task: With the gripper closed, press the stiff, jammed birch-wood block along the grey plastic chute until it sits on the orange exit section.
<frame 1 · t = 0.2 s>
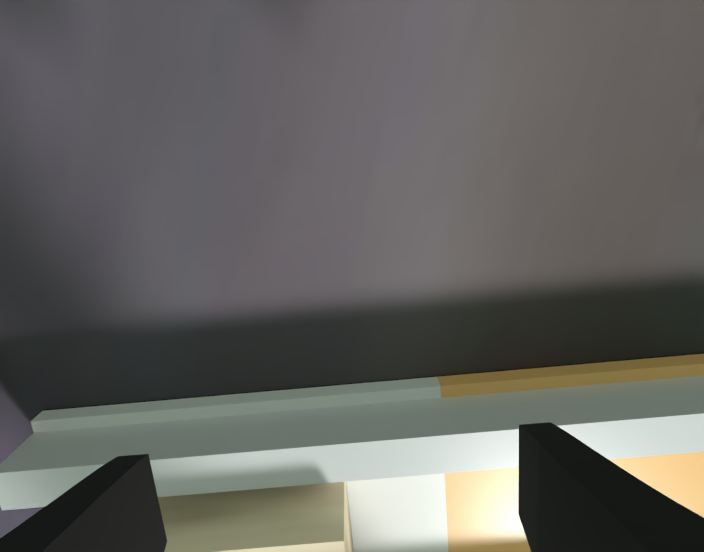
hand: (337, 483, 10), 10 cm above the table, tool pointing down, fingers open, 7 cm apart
chute: (396, 506, 22), on the table
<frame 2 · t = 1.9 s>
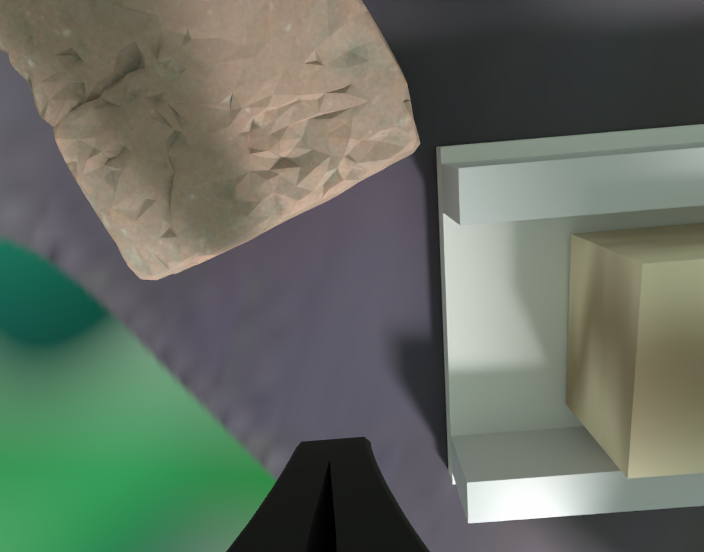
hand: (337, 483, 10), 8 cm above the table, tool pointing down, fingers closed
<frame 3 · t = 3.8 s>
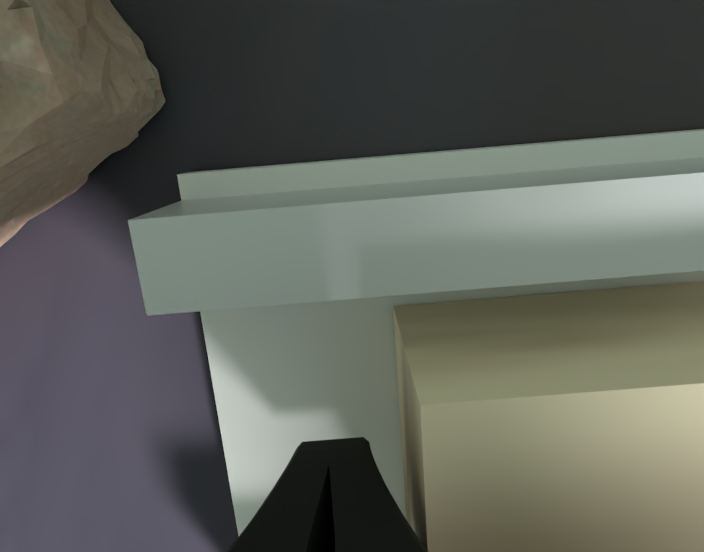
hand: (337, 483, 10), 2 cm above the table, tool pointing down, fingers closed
block: (630, 479, 9), point 3 cm above the table, slide at 0.0 cm, touching gripper
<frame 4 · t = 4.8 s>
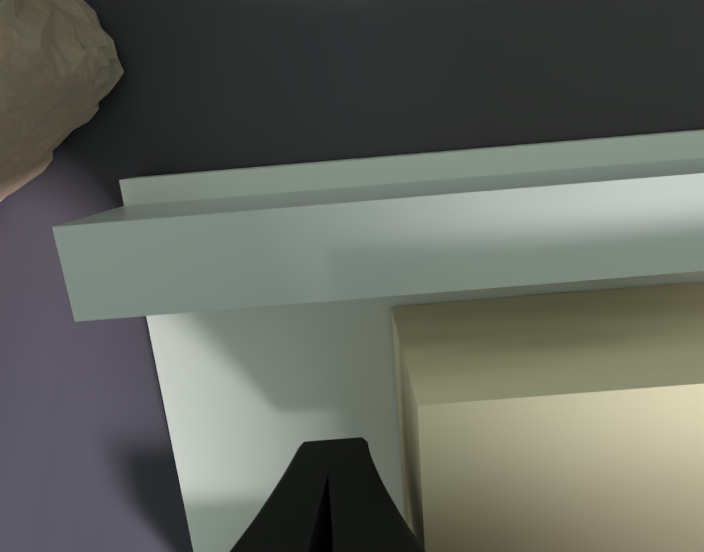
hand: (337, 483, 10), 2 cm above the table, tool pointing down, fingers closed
block: (628, 479, 9), point 3 cm above the table, slide at 1.1 cm, touching gripper
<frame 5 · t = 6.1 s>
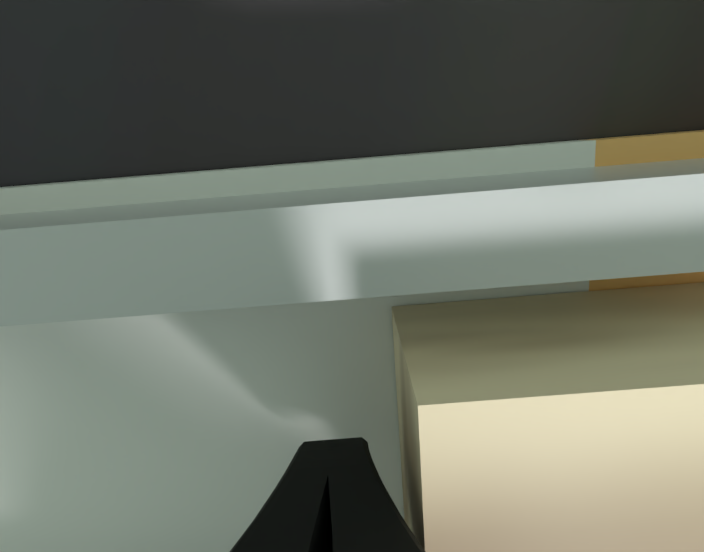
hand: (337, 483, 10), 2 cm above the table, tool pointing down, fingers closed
block: (628, 479, 9), point 3 cm above the table, slide at 7.9 cm, touching gripper
chute: (483, 406, 12), on the table
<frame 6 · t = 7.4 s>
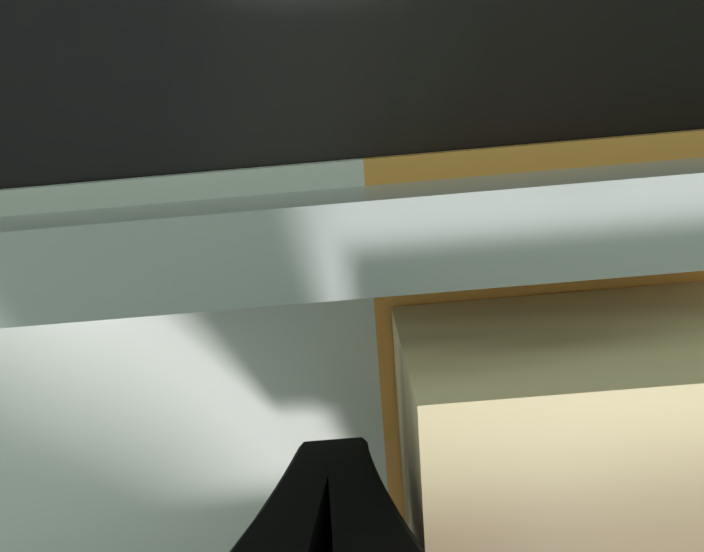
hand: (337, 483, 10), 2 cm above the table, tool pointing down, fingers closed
block: (628, 479, 9), point 3 cm above the table, slide at 12.3 cm, touching gripper
chute: (298, 420, 12), on the table
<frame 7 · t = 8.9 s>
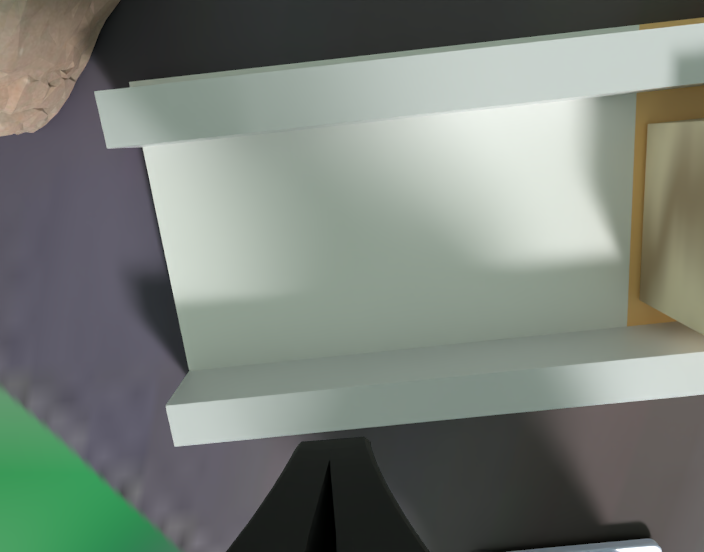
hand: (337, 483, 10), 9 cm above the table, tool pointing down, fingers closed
chute: (562, 219, 18), on the table
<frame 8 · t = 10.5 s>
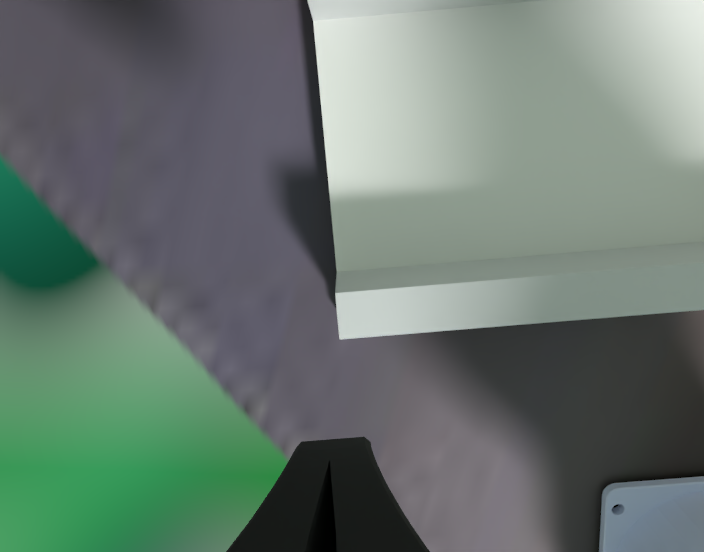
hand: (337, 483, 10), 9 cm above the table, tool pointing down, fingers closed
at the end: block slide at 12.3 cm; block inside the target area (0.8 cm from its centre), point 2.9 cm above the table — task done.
